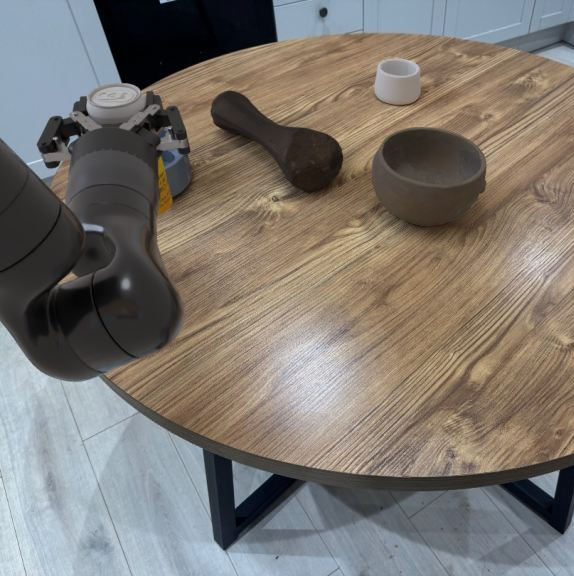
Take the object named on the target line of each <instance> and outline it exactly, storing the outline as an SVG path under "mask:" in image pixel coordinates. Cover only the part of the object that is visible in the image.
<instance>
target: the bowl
mask: <svg viewBox="0 0 574 576" xmlns="http://www.w3.org/2000/svg"><path fill="white" fill-rule="evenodd" d="M370 175H371V184H372V187H373V190H374V193H375V195H376V197H377V198H378V200H379V201H380V203H381V204H382V205H383V206H384V208H386V210H388V211H389V213H391V214H392V215H393V216H395V217H396V218H398V219H400V220H401V221H403V222H407V223H409V224H412V225H416V226H419V227H420V226H422V227H433V226H440V225H444V224H447V223H450V222H454V221H457V220H458V219H460V218H461V217H463V216H464V215H465V214H467V213H469V212H470V210H471V209H472V208H473V207H474V205H475V204H476V202H477V201H478V199H479V197H480V195H481V194H484V192H485V190H486V186H487V184H488V183H487V179H486V175H487V159H486V156H485V153H484V152H483V150H482V149H481V148H480V147H479V145H477V144H476V143H475V142H474V141H473V140H471V139H469V138H467V137H465V136H463V135H461V134H459V133H458V132H453V131H450V130H447V129H442V128H437V127H427V126H425V127H424V126H414V127H406V128H402V129H399V130H397V131H395V132H393V133H391V134H389V135H388V136H386V137H385V138H384V140H383V141H382V142H381V144H380V145H379V147H378V149H377V150H376V151H375V154H374V156H373V158H372V161H371V173H370Z"/></svg>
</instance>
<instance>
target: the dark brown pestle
mask: <svg viewBox="0 0 574 576" xmlns="http://www.w3.org/2000/svg"><path fill="white" fill-rule="evenodd" d="M209 111H210V117H211V118H212V122H213V124H214V126H216V127H217V128H219V129H221V130H222V131H226V132H229V133H233V134H237V135H241V136H243V137H246V138H248V139H251V140H252V141H254V142H256V143H257V144H259V145H260V146H262V147H263V149H265V150H266V151H267V152H268V153H269V155H270V156H271V157H272V158H273V160H274V161H275V162H276V165H278V167H279V169H280V170H281V172H282V174H283V175H284V177H285V178H286V180H287V181H288V183H290V185H292V186H293V187H294V188H295V189H297V190H299V191H302V192H306V193H308V192H309V193H310V192H313V191H317V190H320V189H322V188H324V187H326V186H328V185H329V184H330V183H331V182H333V181H334V180H335V179H336V178H337V177H338V176H339V174H340V172H341V170H342V167H343V161H344V154H343V151H342V150H343V148H342V147H341V144H340V143H339V141H338V140H337V139H336V138H334V137H333V136H331V134H328V133H326V132H323V131H319V130H316V129H311V128H309V127H301V126H300V127H299V126H287V125H282V124H279V123H277V122H275V121H273V120H272V119H270V118H269V117H268V116H266V115H265V114H264V113H262V112H261V111H260V110H259V109H258V108H257V107H256V106H255V105H254V104H253V103H252V101H251V100H250V99H249V98H248V97H247V96H246V95H245V94H242V93H241V92H237V91H235V90H224V91H222V92H220V93H219V94H218V95H217V96H216V97H215V98H214V99H213V100H212V102H211V107H210V110H209Z"/></svg>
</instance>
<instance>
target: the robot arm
mask: <svg viewBox="0 0 574 576" xmlns="http://www.w3.org/2000/svg"><path fill="white" fill-rule="evenodd" d="M145 98H146V106H147V109H146V110H145V111H144V112H137V113H136V114H135V115H134V116H133V117H132V118H131V119H130V120H129V121H128V122H123V123H118V124H100V125H98V124H97V123H96V122H94V121H93V120H92V119H91V118H90V117H89V116H88V113H87V110H86V105H87V95H81V96H79V100H76V101H75V102H74V103H73V107H72V111H71V112H70V113H68V116H69V117H65V118H63V117H62V116H61V115H53V116H50V117H49V119H48V120H47V122H46V125H45V127H44V128H43V131H42V133H41V134H40V136H39V139H38V140H37V143H36V147H37V150H38V151H39V154H40V157H41V159H42V161H43V164H44V166H45V167H46V169H48V170H49V169H50V170H52V169H56V168H58V167H59V166H60V164H61V162H68V161H69V169H68V174H67V182H66V189H65V195H64V196H65V198H64V199H65V202H64V201H63V200H62V199H61V198H60V197H59V196H58V195H57V194H56V193H55V192H54V191H53V190H52V189H51V188H50V186H48V185H47V183H46V182H44V181H43V179H42V178H41V177H40V176H39V175H38V174H37V173H36V172H35V171H34V169H32V168H31V167H30V166H29V164H27V163H26V162H25V161H24V160H23V159H22V158H21V157H20V156H19V155H18V154H17V153H16V152H15V151H14V150H13V149H12V148H11V147H10V146H9V144H7V143H6V142H5V141H4V140H3V138H1V137H0V323H1V325H3V326H4V328H5V329H6V330H7V332H8V333H9V334H10V336H11V337H12V338H13V340H14V341H15V343H16V344H17V346H18V347H19V349H20V350H21V352H22V353H23V354H24V356H25V357H26V359H27V360H28V361H29V362H30V363H31V364H32V366H33V367H34V368H35V369H37V370H38V371H39V372H40V373H42V374H44V375H45V376H47V377H50V378H52V379H55V380H59V381H63V382H71V383H79V382H85V381H90V380H93V379H96V378H98V377H100V376H103V375H104V374H105V375H106V374H107V373H109V372H112V371H114V370H117V369H119V368H122V367H124V366H126V365H128V364H130V363H134V362H135V361H137V360H140V359H142V358H143V359H144V358H145V357H148V356H150V355H152V354H155V353H157V352H160V351H161V350H164V349H165V348H167V347H168V346H170V345H171V344H172V343H173V342H174V341H175V340H176V339H177V337H178V336H179V335H180V332H181V331H182V329H183V326H184V323H185V319H186V308H185V307H186V306H185V303H184V299H183V298H182V295H181V292H180V290H179V289H178V286H177V285H176V283H175V281H174V280H173V278H172V276H171V274H170V273H169V271H168V269H167V266H166V264H165V262H164V259H163V257H162V254H161V249H159V244H158V219H157V216H158V211H159V201H160V189H159V176H158V159H159V158H160V157H161V155H162V154H163V151H165V150H171V149H178V152H179V154H181V155H186V154H188V155H189V154H190V153H191V151H192V150H191V146H190V142H189V137H188V133H187V129H186V126H185V123H184V120H183V118H182V115H181V113H180V111H179V107H178V106H176V105H169V106H167V107H166V108H165V109H164V106H163V101H162V98H161V96H160V94H155V93H154V91H153V90H146V93H145ZM165 128H168V132H166V134H165V136H164V137H163V138H159V136H158V135H159V134H160V133H161V132H162V131H163V130H164V129H165ZM74 136H76V137H77V138H76V139H74V140H73V141H71V138H72V137H74ZM70 141H71V142H70ZM70 273H71V274H73V275H74V276H75V278H73V279H70V280H69V281H66V282H63V283H60V282H62V281H63V280H64V279H65V278H66V277H67V276H68V275H69V274H70Z"/></svg>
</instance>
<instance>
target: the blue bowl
mask: <svg viewBox="0 0 574 576" xmlns="http://www.w3.org/2000/svg"><path fill="white" fill-rule="evenodd" d="M166 132H168V127H165V129H164V130H163V131H162V132H161V133H160V134H159V135H158V136H159V138H163V137H164V136H165V134H166ZM161 157H162V161H163V165H164V169H165V173H166V177H167V180H168V184H169V188H170V192H171V196H172V198H174V197H176V196H178V195H179V194H181V193H182V192H183V191H184V190H185V189H186V188H187V187H188V186H189V185H190V183H191V181H192V177H193V170H192V167H191V162H190V157H189V154H186V155H181V154H179V152H178V149H171V150H165V151H163V154H162V155H161Z"/></svg>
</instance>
